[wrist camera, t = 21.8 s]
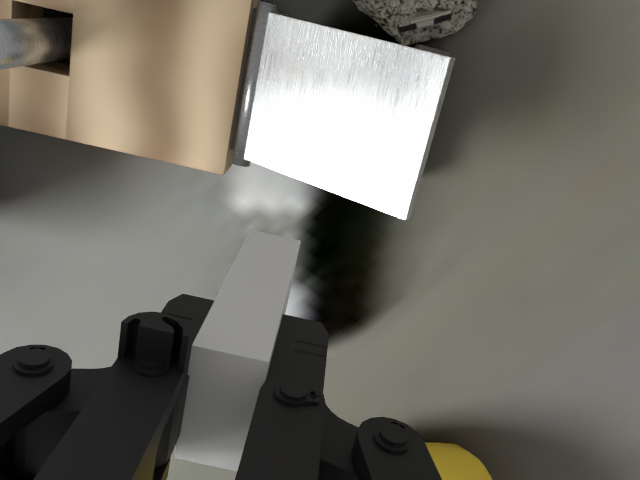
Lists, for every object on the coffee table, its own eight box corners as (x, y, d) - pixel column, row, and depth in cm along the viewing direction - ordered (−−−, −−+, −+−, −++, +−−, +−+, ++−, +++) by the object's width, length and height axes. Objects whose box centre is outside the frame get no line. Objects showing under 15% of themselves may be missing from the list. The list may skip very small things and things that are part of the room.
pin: (50, 53, 42) (-89, 72, 29) (52, 13, 41) (-91, 15, 28) (87, 61, 42) (-35, 83, 29) (90, 22, 41) (-35, 27, 28)
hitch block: (2, 108, 44) (-31, 117, 40) (7, -75, 40) (-30, -84, 36) (404, 198, 44) (408, 215, 41) (451, 26, 40) (461, 28, 36)
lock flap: (227, 161, 40) (401, 228, 35) (254, -1, 36) (451, 47, 31) (239, 159, 41) (409, 224, 36) (265, 2, 37) (459, 48, 32)
